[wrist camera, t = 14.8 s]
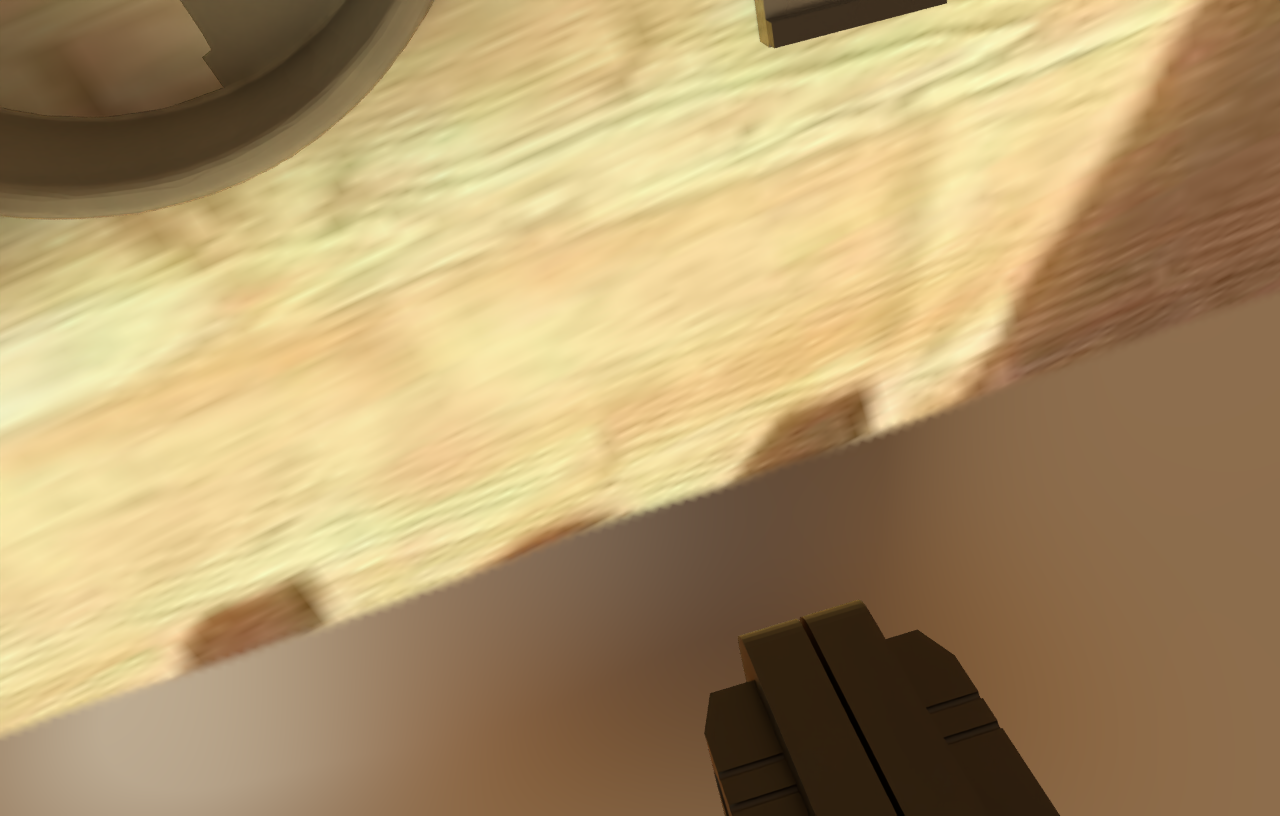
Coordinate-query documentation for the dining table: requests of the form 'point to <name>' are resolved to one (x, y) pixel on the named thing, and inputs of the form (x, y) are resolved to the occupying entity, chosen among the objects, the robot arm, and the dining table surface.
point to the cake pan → (210, 111)
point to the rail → (825, 16)
